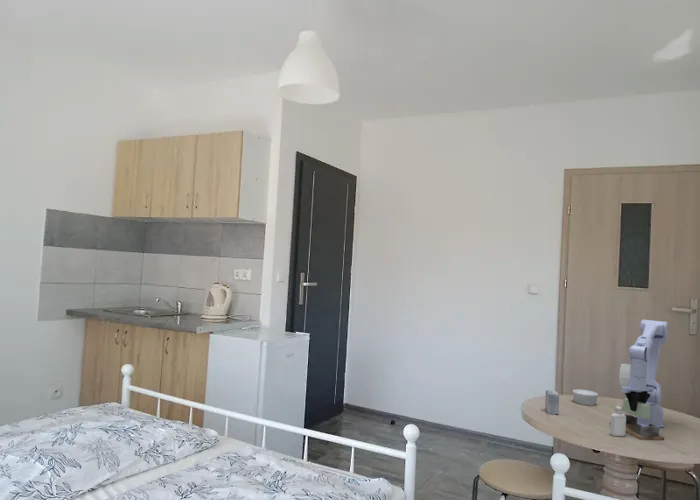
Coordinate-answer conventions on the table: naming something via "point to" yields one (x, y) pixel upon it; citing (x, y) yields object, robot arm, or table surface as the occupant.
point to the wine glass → (624, 375)
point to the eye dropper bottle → (618, 422)
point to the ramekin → (585, 397)
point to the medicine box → (552, 402)
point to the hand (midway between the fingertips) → (636, 410)
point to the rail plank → (641, 410)
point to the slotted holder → (641, 429)
